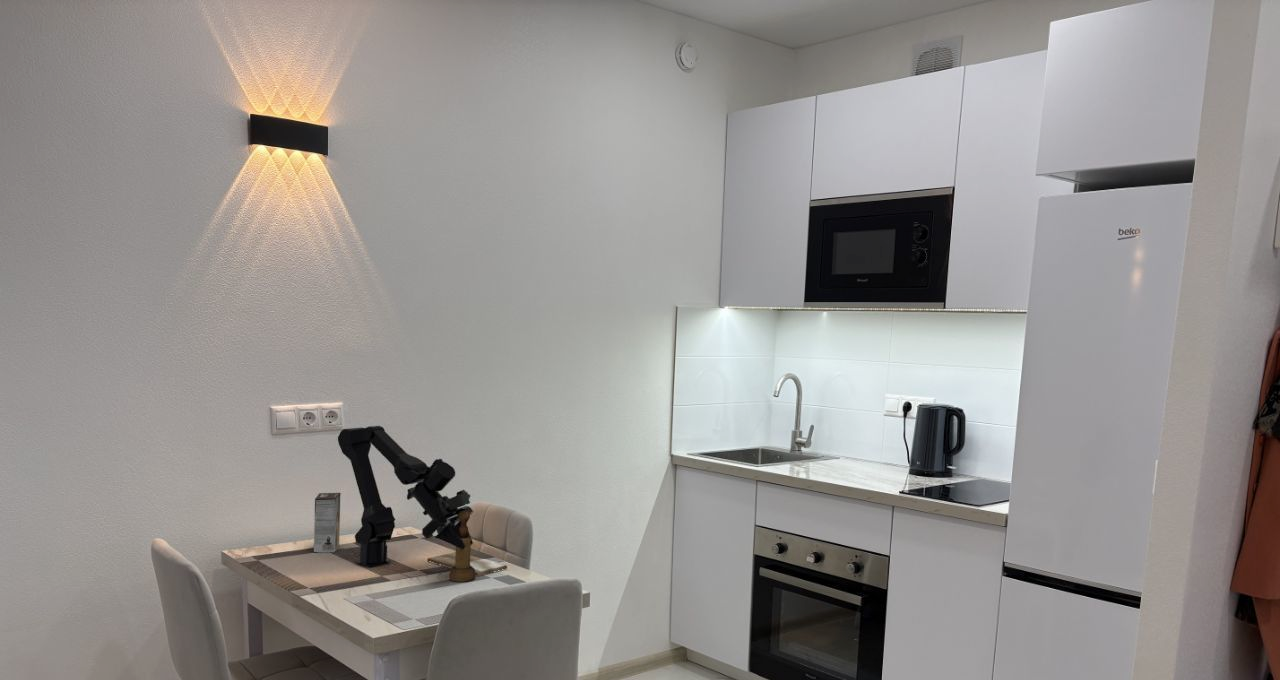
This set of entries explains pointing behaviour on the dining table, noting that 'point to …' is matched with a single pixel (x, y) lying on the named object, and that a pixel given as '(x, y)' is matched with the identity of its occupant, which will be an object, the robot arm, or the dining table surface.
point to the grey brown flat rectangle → (477, 563)
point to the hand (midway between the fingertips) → (467, 546)
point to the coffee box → (327, 522)
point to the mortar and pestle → (463, 553)
